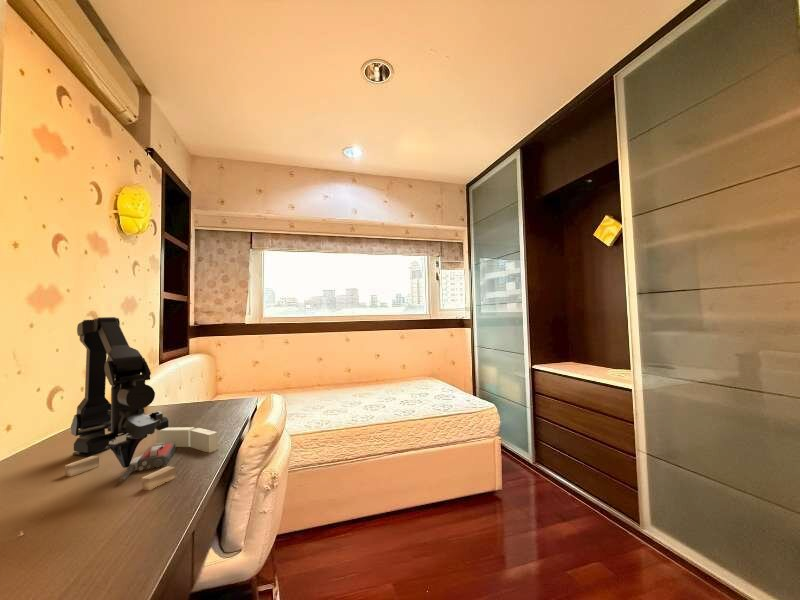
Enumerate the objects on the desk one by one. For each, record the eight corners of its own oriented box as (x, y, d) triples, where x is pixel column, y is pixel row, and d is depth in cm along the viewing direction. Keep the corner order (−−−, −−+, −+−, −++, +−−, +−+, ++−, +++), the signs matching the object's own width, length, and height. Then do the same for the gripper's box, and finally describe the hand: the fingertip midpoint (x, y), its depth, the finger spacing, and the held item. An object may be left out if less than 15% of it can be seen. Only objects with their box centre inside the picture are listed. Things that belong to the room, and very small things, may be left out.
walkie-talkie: (141, 456, 96) (115, 487, 78) (141, 440, 97) (115, 468, 78) (177, 450, 100) (160, 478, 82) (177, 435, 100) (160, 460, 82)
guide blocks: (64, 475, 85) (65, 465, 85) (93, 465, 91) (93, 455, 91) (149, 490, 75) (149, 478, 76) (175, 477, 81) (175, 467, 81)
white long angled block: (157, 446, 103) (157, 430, 103) (171, 441, 107) (171, 425, 107) (210, 452, 96) (210, 435, 96) (223, 446, 100) (223, 429, 100)
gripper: (103, 416, 74) (103, 489, 73) (183, 396, 92) (183, 455, 91) (72, 414, 78) (71, 483, 77) (154, 395, 95) (154, 451, 94)
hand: (125, 467), depth 85 cm, fingers closed
